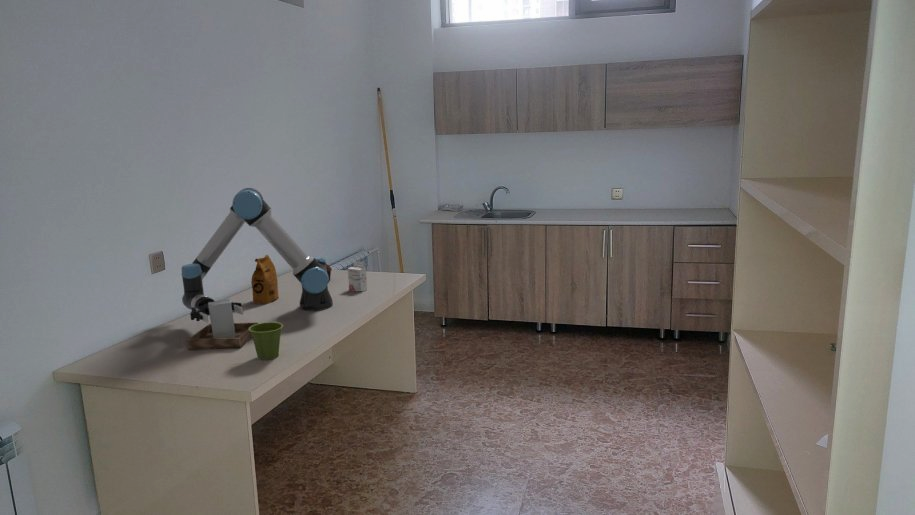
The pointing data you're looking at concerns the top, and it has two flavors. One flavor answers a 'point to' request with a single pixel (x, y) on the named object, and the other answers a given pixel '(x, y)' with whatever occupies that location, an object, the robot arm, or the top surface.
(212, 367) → the top surface
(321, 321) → the top surface
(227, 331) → the skincare box
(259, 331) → the plant pot
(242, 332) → the walnut tray
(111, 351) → the top surface
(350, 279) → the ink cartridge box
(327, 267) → the muffin
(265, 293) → the coffee package
